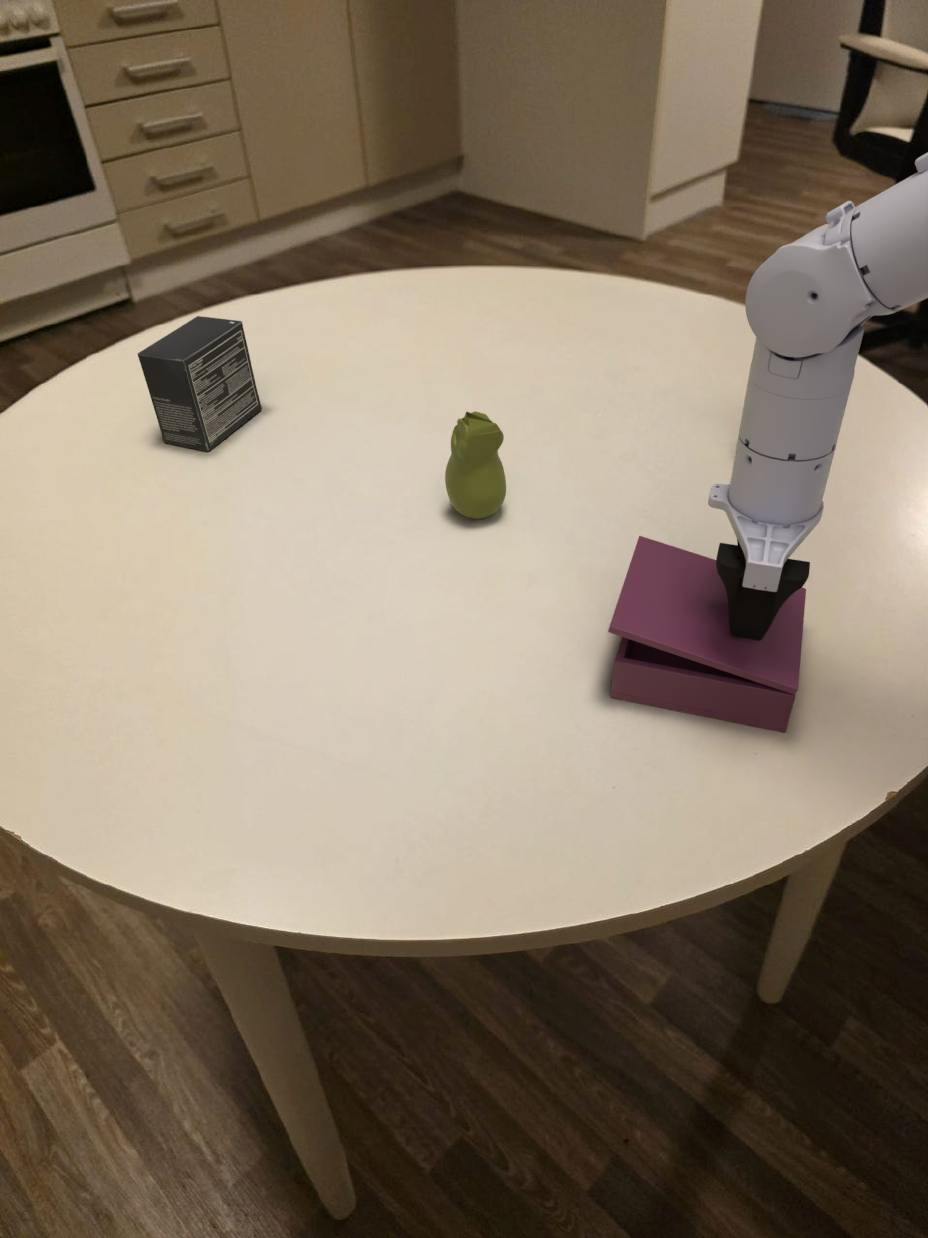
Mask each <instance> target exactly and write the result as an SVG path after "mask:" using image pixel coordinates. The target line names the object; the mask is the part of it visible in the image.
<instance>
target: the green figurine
mask: <svg viewBox="0 0 928 1238" xmlns="http://www.w3.org/2000/svg"><path fill="white" fill-rule="evenodd" d="M504 435H505V434H504V432H503V431H502V430H501V428H500V426H499V425H498V424H497V423H496V422H494V421H492V420H491V419H490V417H489V416H488V415H487V414H486V413H483V412H479V411H472V412H469V411H465V414H464V416H463V417H462V418H458V419H457V421H456V424H455V426H454V428H453V429H452V433H451V436H450V437H451V438H450V456H449V458H448V461H447V464H446V466H445V467H446V468H445V473H444V483H445V489H446V493H447V497H448V499H449V501H450V504H451V505H452V507H453V508H454V509H455V511H456V512H458V513H459V514H460V515H462V516H464V517H466V518H470V519H484V518H487V517H489V516H491V515H494V514H495V513H496V512H497V511H498V510H500V508H501V507H502V505H503V503H504V501H505V500H506V499H505V498H506V495H507V481H506V479H507V478H506V473H505V469H504V465H503V462H502V459H501V457H500V456H499V449H500V448H501V446H502V445H503V442H504V441H505V440H504V438H505V436H504Z"/></svg>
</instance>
